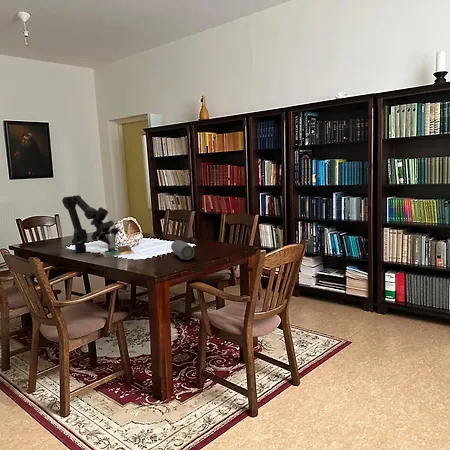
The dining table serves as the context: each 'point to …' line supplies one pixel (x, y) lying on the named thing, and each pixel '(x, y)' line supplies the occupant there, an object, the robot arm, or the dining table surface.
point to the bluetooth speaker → (182, 250)
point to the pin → (111, 242)
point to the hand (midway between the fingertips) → (112, 243)
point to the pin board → (119, 251)
